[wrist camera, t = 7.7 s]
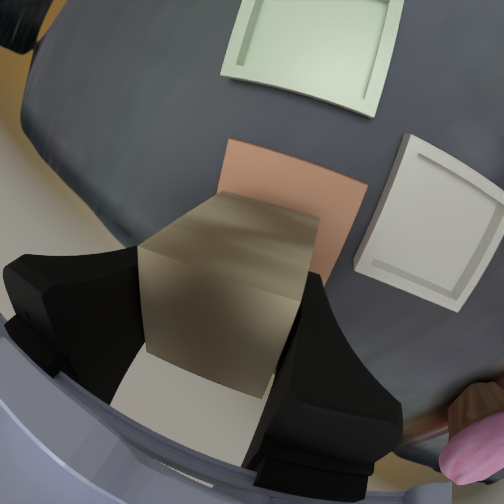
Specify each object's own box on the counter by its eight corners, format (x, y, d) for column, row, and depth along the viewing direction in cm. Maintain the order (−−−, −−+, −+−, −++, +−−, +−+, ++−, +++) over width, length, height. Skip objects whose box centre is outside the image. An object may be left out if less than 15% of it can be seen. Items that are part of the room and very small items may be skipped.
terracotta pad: (367, 184, 14) (368, 185, 13) (317, 296, 18) (317, 301, 17) (232, 138, 15) (229, 138, 15) (207, 253, 19) (204, 257, 19)
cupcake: (421, 417, 20) (422, 501, 12) (460, 363, 17) (480, 465, 8) (482, 412, 18) (492, 484, 10) (523, 360, 14) (549, 441, 6)
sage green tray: (400, 2, 8) (405, -7, 7) (370, 118, 12) (374, 117, 11) (264, -29, 9) (257, -40, 8) (230, 78, 13) (220, 75, 12)
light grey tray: (505, 195, 11) (517, 202, 10) (451, 299, 15) (457, 312, 14) (404, 133, 12) (410, 134, 11) (353, 258, 16) (354, 270, 15)
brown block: (320, 217, 11) (300, 301, 6) (293, 301, 14) (260, 400, 8) (222, 190, 12) (137, 245, 7) (211, 274, 14) (146, 353, 9)
